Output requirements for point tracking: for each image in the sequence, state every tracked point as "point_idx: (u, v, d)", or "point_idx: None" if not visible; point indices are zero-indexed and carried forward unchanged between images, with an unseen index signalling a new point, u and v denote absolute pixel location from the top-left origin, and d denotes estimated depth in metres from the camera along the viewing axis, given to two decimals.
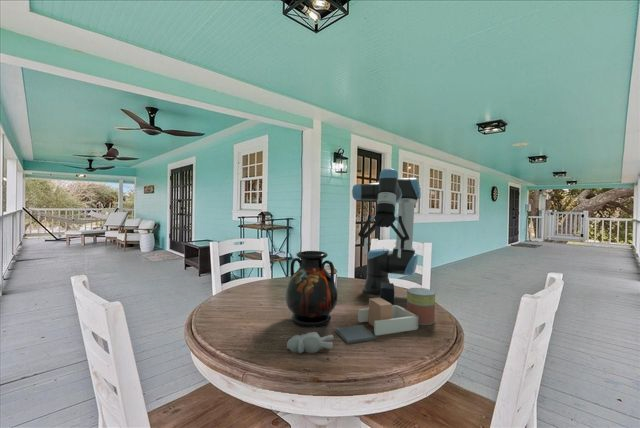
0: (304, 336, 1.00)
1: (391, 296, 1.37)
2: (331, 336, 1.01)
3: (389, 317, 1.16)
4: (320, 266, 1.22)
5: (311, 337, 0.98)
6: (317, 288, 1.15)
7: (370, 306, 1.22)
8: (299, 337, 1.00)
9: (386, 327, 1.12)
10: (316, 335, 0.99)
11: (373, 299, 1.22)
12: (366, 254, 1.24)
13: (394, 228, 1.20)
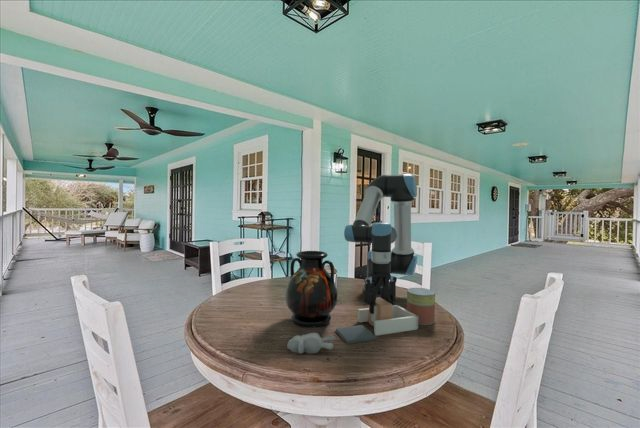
0: (305, 337, 0.99)
1: None
2: (332, 337, 1.01)
3: (389, 317, 1.16)
4: (320, 266, 1.22)
5: (311, 338, 0.97)
6: (317, 288, 1.15)
7: None
8: (300, 337, 1.00)
9: (386, 327, 1.12)
10: (317, 336, 0.99)
11: None
12: None
13: (387, 290, 1.19)
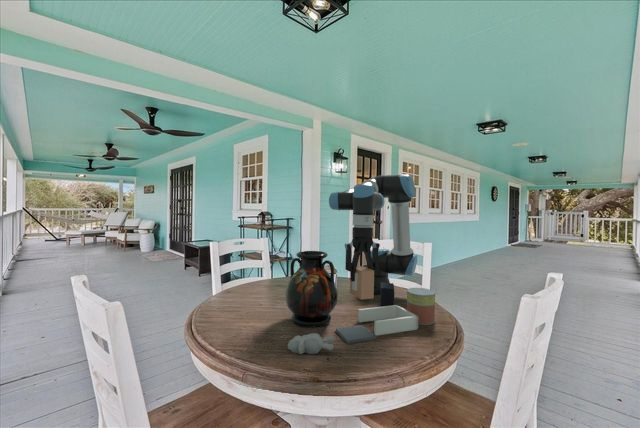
0: (305, 337, 0.99)
1: (391, 296, 1.37)
2: (332, 337, 1.00)
3: (371, 284, 1.08)
4: (320, 266, 1.22)
5: (312, 338, 0.97)
6: (317, 288, 1.15)
7: None
8: (300, 338, 0.99)
9: (386, 327, 1.12)
10: (317, 336, 0.99)
11: None
12: None
13: (369, 256, 1.12)
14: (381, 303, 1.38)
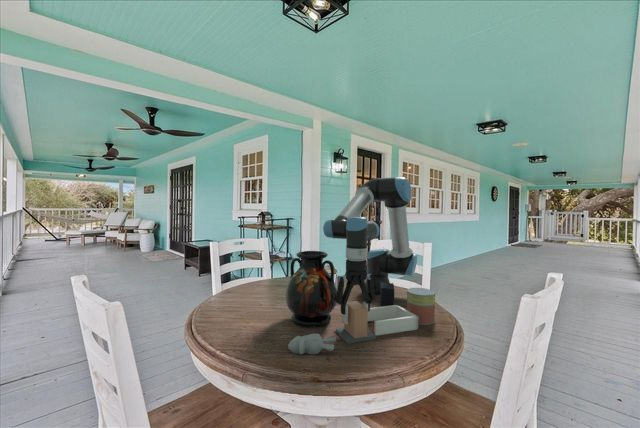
0: (306, 337, 0.99)
1: (391, 296, 1.37)
2: (333, 338, 1.00)
3: (364, 323, 1.07)
4: (320, 266, 1.22)
5: (312, 338, 0.97)
6: (317, 288, 1.15)
7: None
8: (301, 338, 0.99)
9: (386, 327, 1.12)
10: (318, 336, 0.98)
11: (348, 303, 1.13)
12: None
13: (364, 289, 1.11)
14: (381, 303, 1.38)
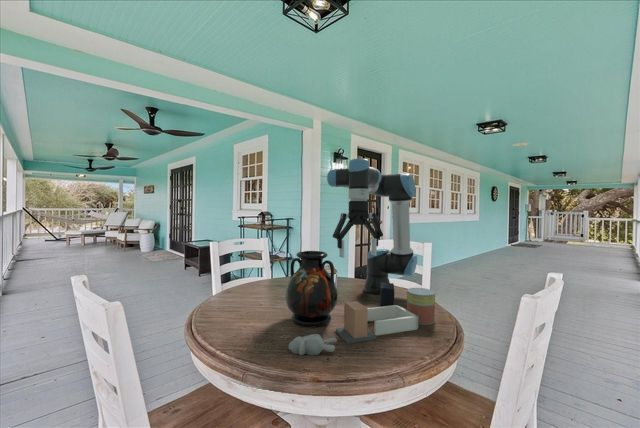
0: (306, 338, 0.98)
1: (391, 296, 1.37)
2: (334, 339, 0.99)
3: (364, 323, 1.07)
4: (320, 266, 1.22)
5: (313, 339, 0.96)
6: (317, 288, 1.15)
7: (345, 310, 1.13)
8: (301, 339, 0.99)
9: (386, 327, 1.12)
10: (318, 337, 0.98)
11: (348, 303, 1.13)
12: None
13: (370, 227, 1.15)
14: (381, 303, 1.38)
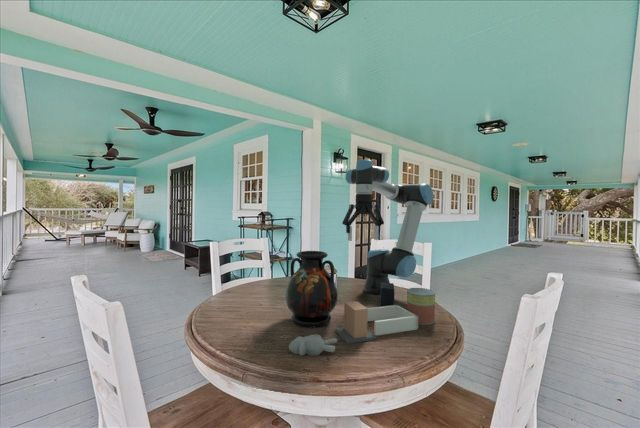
0: (306, 338, 0.98)
1: (391, 296, 1.37)
2: (334, 339, 0.99)
3: (364, 323, 1.07)
4: (320, 266, 1.22)
5: (313, 339, 0.96)
6: (317, 288, 1.15)
7: (345, 310, 1.13)
8: (301, 339, 0.98)
9: (386, 327, 1.12)
10: (318, 338, 0.97)
11: (348, 303, 1.13)
12: (349, 239, 1.39)
13: (373, 216, 1.40)
14: (381, 303, 1.38)
